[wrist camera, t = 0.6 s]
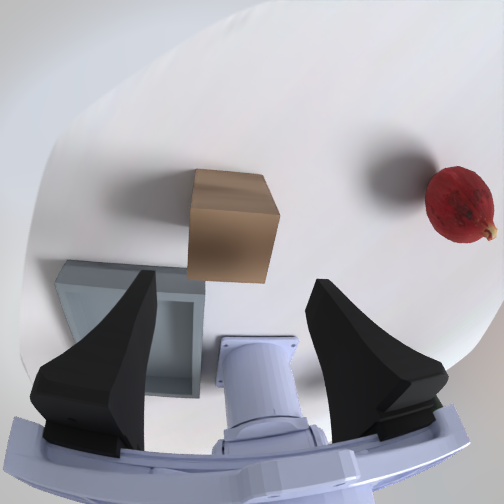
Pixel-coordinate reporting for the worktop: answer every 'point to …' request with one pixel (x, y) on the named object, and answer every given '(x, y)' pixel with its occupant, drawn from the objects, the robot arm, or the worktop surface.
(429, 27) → the worktop surface
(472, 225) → the pomegranate
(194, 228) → the block
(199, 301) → the tray
